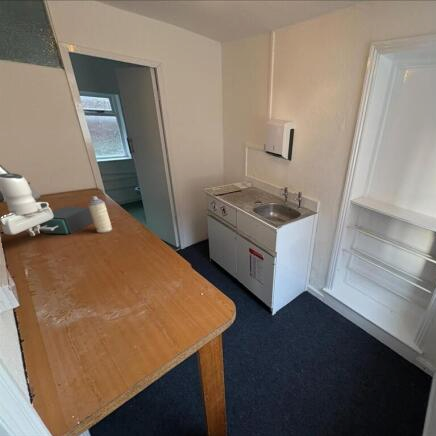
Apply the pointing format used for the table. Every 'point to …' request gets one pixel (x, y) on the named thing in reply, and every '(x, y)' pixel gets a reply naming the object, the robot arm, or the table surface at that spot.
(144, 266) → the table surface
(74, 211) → the cabinet
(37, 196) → the coffee pot
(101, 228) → the aerosol can
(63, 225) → the drawer
